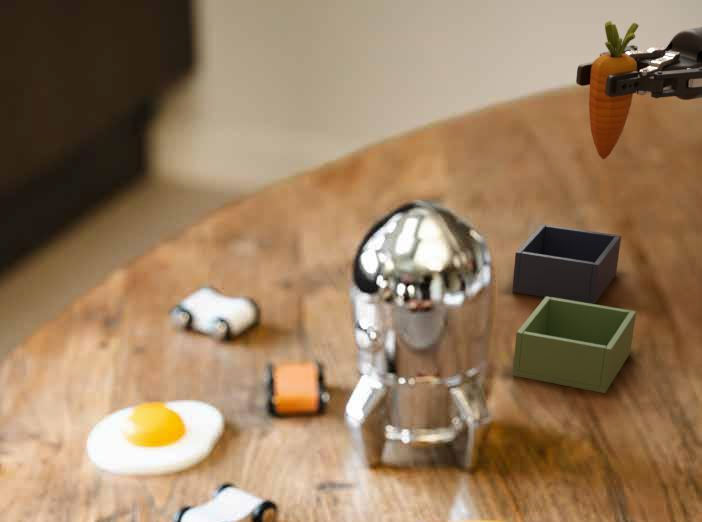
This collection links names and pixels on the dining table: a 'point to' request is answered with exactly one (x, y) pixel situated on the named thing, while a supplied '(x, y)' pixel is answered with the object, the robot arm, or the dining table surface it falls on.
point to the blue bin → (566, 263)
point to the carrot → (604, 109)
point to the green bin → (574, 344)
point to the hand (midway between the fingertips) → (593, 81)
